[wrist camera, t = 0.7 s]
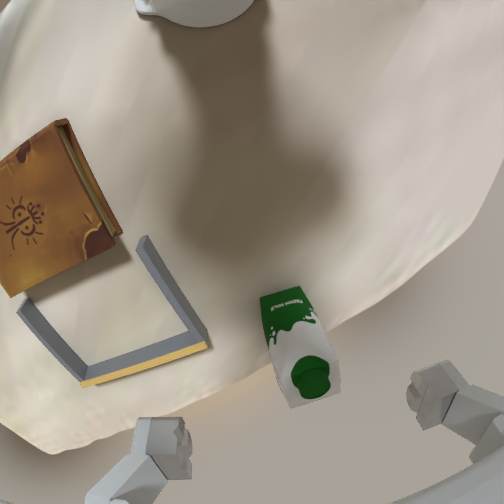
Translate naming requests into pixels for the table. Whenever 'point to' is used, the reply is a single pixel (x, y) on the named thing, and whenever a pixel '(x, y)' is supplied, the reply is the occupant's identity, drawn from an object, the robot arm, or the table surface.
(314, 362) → the milk carton
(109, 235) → the diary
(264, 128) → the table surface
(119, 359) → the bay
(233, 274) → the table surface
